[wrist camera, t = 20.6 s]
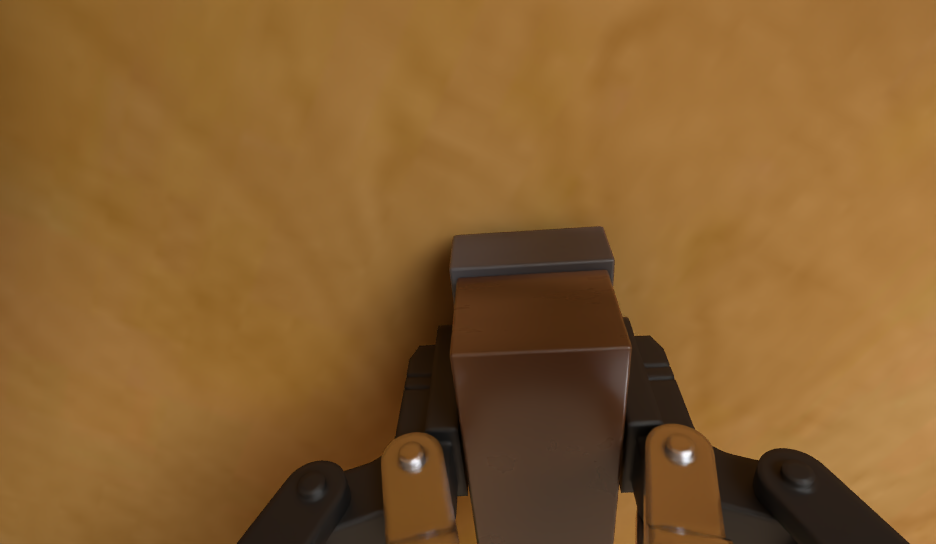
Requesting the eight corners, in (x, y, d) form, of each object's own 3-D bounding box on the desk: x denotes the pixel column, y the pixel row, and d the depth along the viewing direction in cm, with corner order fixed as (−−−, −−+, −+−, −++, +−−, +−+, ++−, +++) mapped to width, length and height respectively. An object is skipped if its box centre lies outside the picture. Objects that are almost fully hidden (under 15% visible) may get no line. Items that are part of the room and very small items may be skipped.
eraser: (477, 433, 17) (473, 563, 13) (452, 234, 13) (439, 346, 10) (593, 429, 17) (619, 561, 13) (603, 224, 13) (643, 337, 9)
